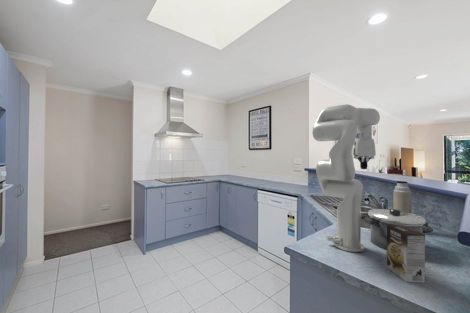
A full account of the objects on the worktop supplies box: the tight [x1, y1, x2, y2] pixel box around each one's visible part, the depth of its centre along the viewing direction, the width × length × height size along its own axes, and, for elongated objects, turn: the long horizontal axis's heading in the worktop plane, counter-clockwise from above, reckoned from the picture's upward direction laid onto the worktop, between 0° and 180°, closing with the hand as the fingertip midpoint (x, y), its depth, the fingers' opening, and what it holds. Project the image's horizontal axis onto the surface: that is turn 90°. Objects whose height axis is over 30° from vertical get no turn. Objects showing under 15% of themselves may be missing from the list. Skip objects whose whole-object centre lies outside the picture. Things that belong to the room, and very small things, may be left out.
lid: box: [367, 208, 427, 225], centre depth 94 cm, size 22×21×4 cm
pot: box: [363, 216, 429, 251], centre depth 94 cm, size 26×20×13 cm
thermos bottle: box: [393, 180, 412, 213], centre depth 116 cm, size 8×8×28 cm
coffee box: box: [386, 225, 426, 284], centre depth 70 cm, size 9×6×16 cm
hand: (363, 169), depth 112 cm, fingers closed
